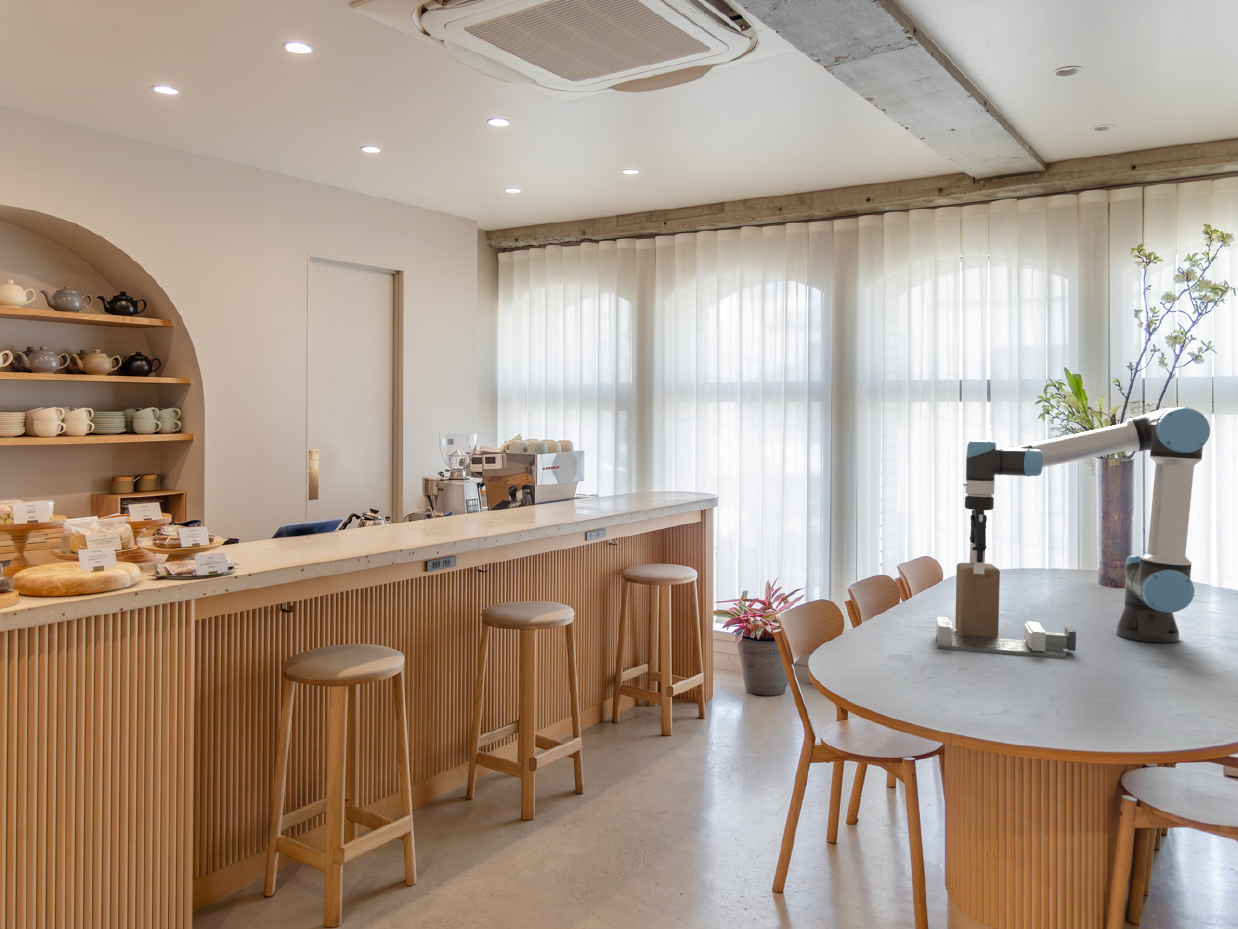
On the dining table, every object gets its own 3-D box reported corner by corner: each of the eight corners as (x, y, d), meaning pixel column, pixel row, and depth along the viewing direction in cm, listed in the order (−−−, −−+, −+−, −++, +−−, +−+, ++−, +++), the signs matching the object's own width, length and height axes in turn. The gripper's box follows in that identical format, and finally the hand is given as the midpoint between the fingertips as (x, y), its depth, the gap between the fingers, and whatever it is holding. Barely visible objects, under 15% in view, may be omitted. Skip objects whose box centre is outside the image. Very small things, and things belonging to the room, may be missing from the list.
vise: (1057, 646, 235) (1058, 624, 235) (1066, 658, 223) (1067, 635, 223) (936, 637, 245) (936, 616, 244) (938, 648, 232) (938, 626, 232)
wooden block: (998, 640, 242) (1000, 569, 241) (960, 638, 244) (962, 567, 243) (991, 631, 252) (992, 563, 251) (954, 630, 254) (956, 562, 253)
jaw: (1068, 642, 234) (1069, 624, 234) (1077, 654, 223) (1078, 634, 222) (1023, 639, 237) (1024, 621, 237) (1029, 650, 226) (1030, 631, 226)
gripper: (962, 491, 259) (959, 562, 260) (968, 498, 235) (965, 576, 236) (989, 492, 256) (986, 563, 258) (998, 499, 233) (995, 578, 234)
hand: (976, 569), depth 247 cm, fingers open, 13 cm apart
